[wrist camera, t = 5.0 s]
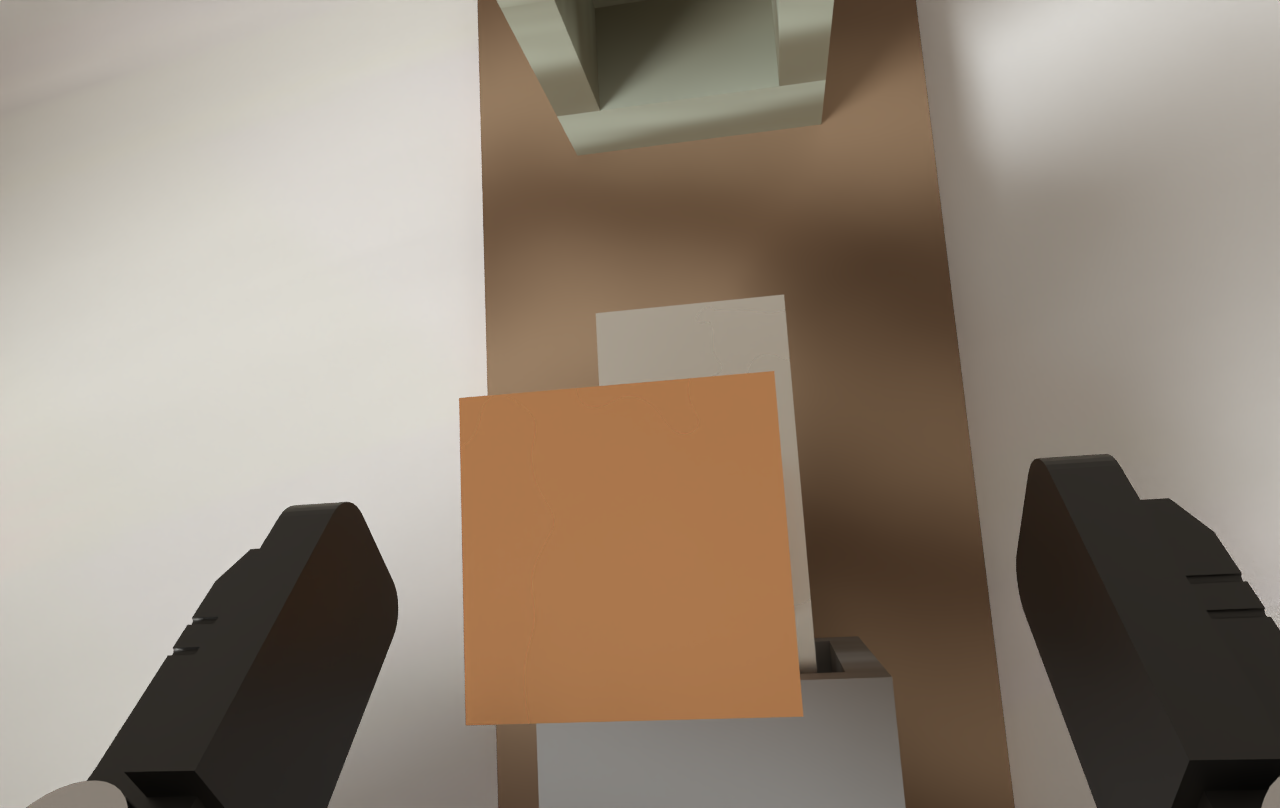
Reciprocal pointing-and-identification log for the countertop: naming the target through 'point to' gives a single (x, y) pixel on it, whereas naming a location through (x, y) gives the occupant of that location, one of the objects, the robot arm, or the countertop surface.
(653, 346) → the orange and grey blocks
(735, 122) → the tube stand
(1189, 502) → the countertop surface
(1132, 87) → the countertop surface
